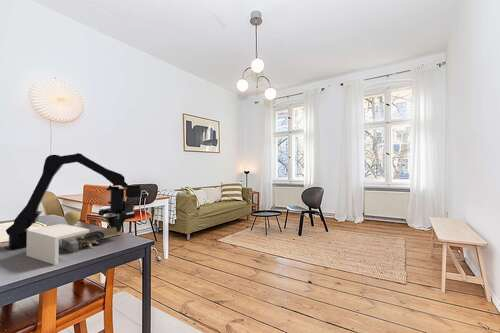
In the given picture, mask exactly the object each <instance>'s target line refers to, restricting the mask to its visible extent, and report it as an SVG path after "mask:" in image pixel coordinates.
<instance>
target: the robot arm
mask: <svg viewBox="0 0 500 333" xmlns="http://www.w3.org/2000/svg"><path fill="white" fill-rule="evenodd" d="M74 163H78V164H80V165H83V166H84V167H86V168H87V169H90V170H92V171H93V172H95V173H97V174H99V175H100V176H102V177H103V178H105V179H106V180H107V181H109V183H111V184H112V185H114V186H112V185H111V184H109V185H108V187H106V191H110V201H107V202H108V203H107V204H108V205H109V206H110V207H106V208H101V209H100V210H99V211H98V216H99V217H100V216H101V217H104V219H105V220H106V221H107V222H108V225H109V226H110V227H109V228H112V227H116V229H117V232H120V230H121V227H122V228H123V225H124V222H125V221H126V220H129V219H135V218H136V213H135V211H134V208H135V206H134V205H132V204H128V203H127V201H126V200H125V197H126V198H127V199H128V200H129V199H130V200H132V199H141V198H142V197H141V196H142V192H141V185H140V184H133V185H131V184H129V183H127V182H126V180H125V176H124V175H123V174H121V173H119V172H116V171H114V170H110V169H108V168H106V167H104V166H103V165H101V164H99V163H97V162H95V161H94V160H92V159H90V158H89V157H87V156H85V155H83V154H82V153H80V152H79V153H78V152H76V153H74V154H67V155H66V154H65V155H59V154H50V155H48V156H47V157H46V158H45V160H44V164H43V168H42V174H41V176H40V177H39V180H38V182H37V183H36V186H35V188H34V190H33V191H32V194H31V195H30V197H29V200H28V202H27V204H26V205H25V206H24V208H23V209H22V210H21V211H20V212H19V214H18V215H17V216H16V217H15V219H13V224H11V225H10V226H9V227H8V228H7V229H5V232H6V234H7V235H8V245H5V246H4V248H5V249H8V250H11V251H13V250H17V249H18V250H19V249H22V248H27V230H29V229H30V227H31V226H32V225H33V224H36V223H37V222H38V220H39V217H40V215H41V214H42V211H40V210H39V207H40V205H41V203H42V201H43V199H44V197H45V195H46V194H47V190H48V188H49V187H50V184H51V183H52V180H54V177H55V176H56V175H57V173H59V171H60V169H61V168H62V167H63V165H67V164H74ZM128 184H129V185H128ZM120 187H122V188H120ZM104 215H105V216H104Z"/></svg>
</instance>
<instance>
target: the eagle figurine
mask: <svg viewBox="0 0 500 333" xmlns="http://www.w3.org/2000/svg"><path fill="white" fill-rule="evenodd" d="M91 232H92V233H90V232H87V233H88V234H86V233H85V234H86V235H85V236H84V238H81V237H76V241H77V242H78V251H79V250H81V249H82V248H83V247H84V246H85V245H86V246H87V247H89V248H90V249H91V250H92V249H93V245H92V244H96V245H102V243H99V242H98V241H99V240H98V239H100V240H103V237H104V236H105V235H104V233H102V232H99V230H96V231H91ZM94 240H96V241H94Z"/></svg>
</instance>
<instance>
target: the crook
mask: <svg viewBox="0 0 500 333" xmlns="http://www.w3.org/2000/svg"><path fill="white" fill-rule="evenodd" d="M98 231H99V232H102V233H104V235H105V236H104V237H103V239H107V238H113V237H115V236H118V235H119V236H120V235H122V234H123V226H122V227H121V230H120V232H117V229H116V227H112V228H111V227H109V228H105V229H99V230H98ZM92 232H93V231H91V232H90V231H89V232H87V233H83V234H79V235H75V236H71V237H67V238H63V239H61V248H62V249H64V250H66V251H68V252H70V253H76V252H79V250H78V248H79V246H78V242H77V241H76V237H81V238H84V236H85V235H86V234H88V233H92ZM103 239H102V240H103ZM100 240H101V239H98V240H94V241H96V242H97V241H100Z"/></svg>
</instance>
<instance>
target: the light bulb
mask: <svg viewBox="0 0 500 333" xmlns="http://www.w3.org/2000/svg"><path fill="white" fill-rule="evenodd" d="M80 219H81V213H80V212H78V211H76V210H71V211H68V212H66V213H65V215H64V220H65V222H66V224H67V225H70V226H75V227H78V222H79V221H80Z"/></svg>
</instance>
